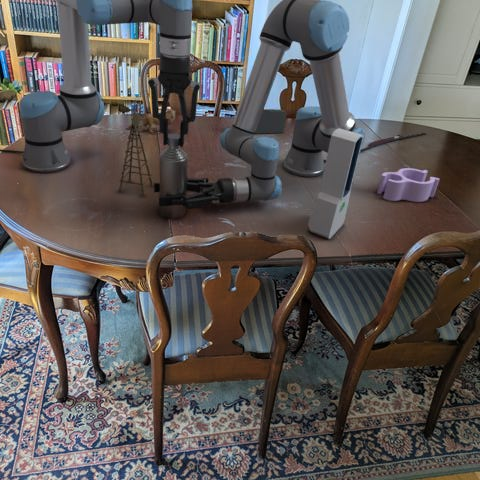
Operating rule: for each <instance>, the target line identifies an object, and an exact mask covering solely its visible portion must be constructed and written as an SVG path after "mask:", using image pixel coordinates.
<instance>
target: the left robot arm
mask: <svg viewBox="0 0 480 480" xmlns="http://www.w3.org/2000/svg"><path fill="white" fill-rule="evenodd" d="M54 1H55V2H56V5H57V7H56V9H57V18H58V28H59V42H60V52H61V64H62V65H61V66H62V78H63V82H62V84H61V85H60V86H59V94H57V93H56V92H54V91H51V90H44V91H42V90H37V91H33V92H30V93H27V94H25V95H24V96H22V97H21V98H20V100H19V103H18V104H19V116H20V119H21V125H22V132H23V137H24V148H23V150H14V149H13V150H12V149H1V148H0V152H4V153H15V154H22V158H21V159H22V160H21V161H22V166H23V168H24V169H25V170H27V171H29V172H33V173H39V174H46V173H56V172H61V171H63V170H66V169H67V168H69V167H70V166H71V163H72V159H71V155H70V153H69V151H68V150H67V149H68V148H67V147H66V145H65V143H64V140H63V133H64V132H68V131H74V130H79V129H83V128H90V127H92V126H97V125H98V124H99V123H101V122H102V120H103V118H104V115H105V102H104V101H103V96H102V94H101V93H100V92H99V91H98V90H97V87H96V86H94V84H93V83H92V73H91V72H92V71H91V53H90V36H89V35H90V34H89V25H96V26H106V25H123V24H141V23H142V24H144V23H145V24H146V23H149V24H154V25H157V26H159V52H160V53H161V54H160V55H159V73H158V75H157V76H156V77H150V79H149V80H148V81H147V83H148V86H149V88H150V96H151V115H152V116H153V118H157V119H159V121H160V125H159V132H160V133H163V134H162V135H163V140H162V141H163V146H168V145H167V135H169V125H168V119H165V117H166V112H167V111H168V106H169V102H170V98H171V97H170V96H171V94H176V95H177V96H178V98H179V105H180V111H181V117H182V120H181V122H180V123H179V124H180V125H179V126H180V127H179V135H180V146H179V148H183V147H184V144H185V135H188V133H189V125H190V124H189V123H194V122H195V120H196V117H197V108H198V107H197V106H198V94H199V91H200V89H201V86H202V84H201V83H200V82H196V81H195V80H193V79H192V77H191V58H190V55H191V46H192V21H193V20H192V19H193V18H192V16H193V7H194V6H193V0H54ZM159 83H160V85H161V86H162V88H163V90H164V91H163V96H162V97H163V98H162V103H161V108H160V110H159V93H158V91H159V90H158V86H159ZM189 86H190V90H191V91H192V95H191V101H190V102H191V103H190V115H189V111H188V105H187V99H186V90H187V89H188V87H189ZM159 111H160V112H159Z"/></svg>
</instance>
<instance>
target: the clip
mask: <svg viewBox="0 0 480 480" xmlns="http://www.w3.org/2000/svg"><path fill="white" fill-rule="evenodd" d="M428 172H429V170H428V169H423V170H421V169H418V168H413V167H411V168H410V167H405V168H404V167H403V168H400V169H398V170H397V171H394V172H393V171H385V172H383V173H382V174H381V178H380V180H379V184H378V187H377V192H376V193H377V194H378V195H382V193H383V197H382V199H383V200H386V201H391V202H398V201H400V200H403V201H404V200H405V201H409V202H415V203H422V202H426V201H428V200H429V198H434V196H435V194H436V190H437V188H438V185H439V183H440V178H439V177H436V176H435V177H434V176H430V177H429V179H428V180H427V181H425V180H426V178H427V175H428Z"/></svg>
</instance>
